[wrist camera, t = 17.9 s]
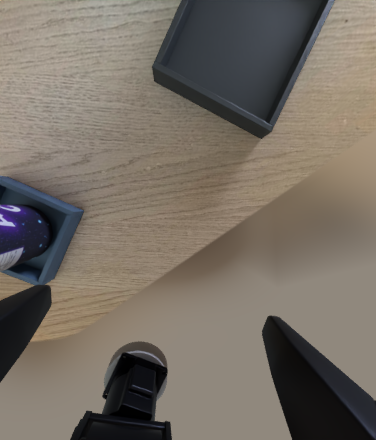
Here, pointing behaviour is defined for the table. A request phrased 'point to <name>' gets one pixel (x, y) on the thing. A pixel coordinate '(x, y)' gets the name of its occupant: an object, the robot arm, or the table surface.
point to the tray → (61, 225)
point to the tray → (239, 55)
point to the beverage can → (22, 234)
